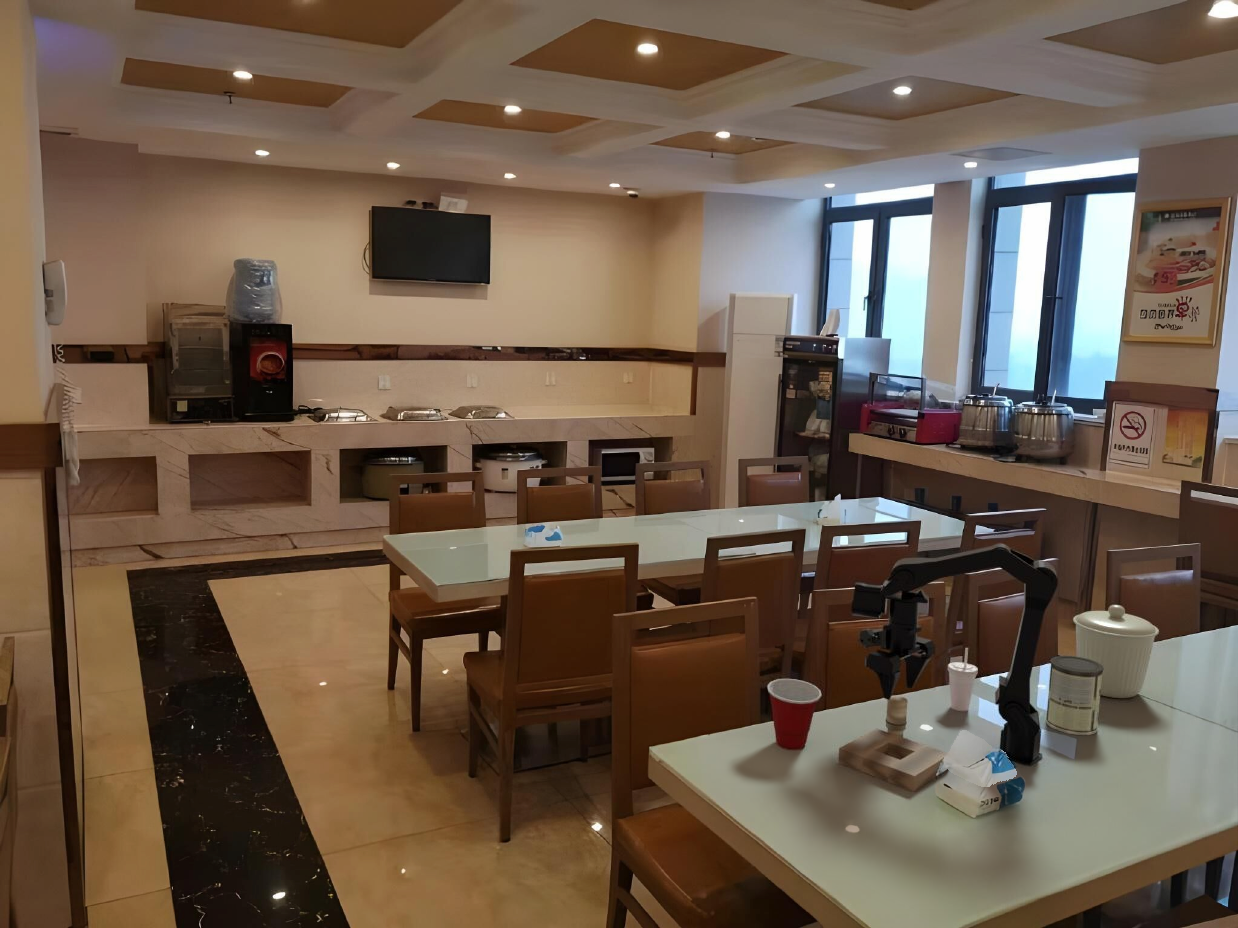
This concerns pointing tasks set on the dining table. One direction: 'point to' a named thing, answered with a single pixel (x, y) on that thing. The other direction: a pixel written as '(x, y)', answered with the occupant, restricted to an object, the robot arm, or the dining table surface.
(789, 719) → the plastic cup
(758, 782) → the dining table surface
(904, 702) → the peg
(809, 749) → the dining table surface
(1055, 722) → the coffee can
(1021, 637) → the robot arm
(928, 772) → the board
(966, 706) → the smoothie
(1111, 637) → the canister
